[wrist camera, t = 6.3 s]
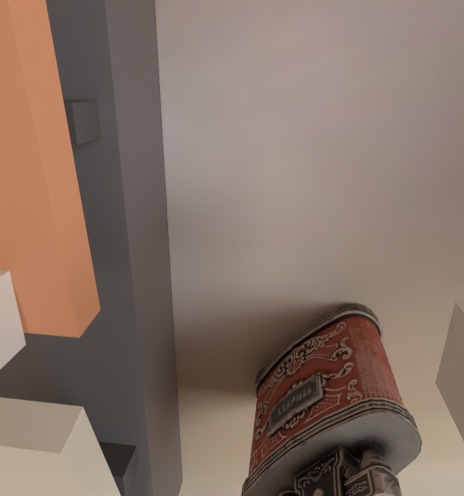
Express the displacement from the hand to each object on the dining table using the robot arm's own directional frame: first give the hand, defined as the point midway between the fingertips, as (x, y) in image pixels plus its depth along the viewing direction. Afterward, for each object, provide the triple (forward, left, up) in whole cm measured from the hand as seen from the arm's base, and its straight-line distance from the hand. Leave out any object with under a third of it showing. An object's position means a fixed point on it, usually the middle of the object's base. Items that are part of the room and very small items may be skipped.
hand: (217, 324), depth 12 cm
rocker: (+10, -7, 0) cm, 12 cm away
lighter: (+7, +4, -9) cm, 12 cm away
